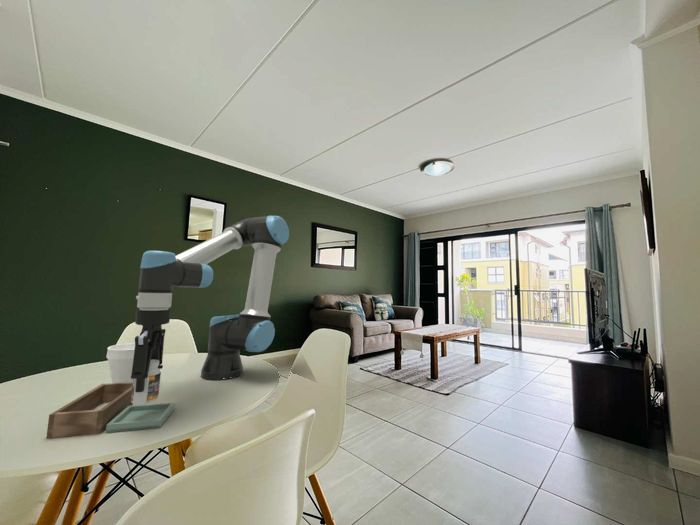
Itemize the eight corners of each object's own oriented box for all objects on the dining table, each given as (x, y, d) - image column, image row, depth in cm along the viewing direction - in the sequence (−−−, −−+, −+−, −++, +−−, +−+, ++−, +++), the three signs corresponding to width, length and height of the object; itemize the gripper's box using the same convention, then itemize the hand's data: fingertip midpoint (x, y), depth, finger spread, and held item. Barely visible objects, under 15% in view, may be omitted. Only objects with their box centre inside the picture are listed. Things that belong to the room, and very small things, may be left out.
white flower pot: (136, 393, 89) (140, 349, 90) (92, 395, 87) (97, 349, 88) (156, 381, 101) (160, 342, 102) (118, 382, 99) (122, 342, 100)
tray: (174, 409, 79) (174, 402, 79) (159, 427, 68) (160, 420, 69) (128, 412, 76) (128, 405, 76) (105, 432, 65) (106, 424, 66)
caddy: (139, 398, 85) (141, 381, 86) (100, 433, 65) (103, 410, 66) (100, 401, 82) (102, 383, 83) (46, 438, 62) (49, 414, 63)
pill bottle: (143, 406, 69) (147, 365, 70) (124, 404, 70) (129, 363, 71) (163, 398, 75) (167, 359, 76) (145, 395, 76) (149, 358, 77)
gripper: (151, 306, 83) (143, 388, 80) (119, 311, 65) (108, 416, 63) (180, 306, 85) (173, 386, 83) (157, 311, 67) (147, 413, 65)
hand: (145, 399), depth 73 cm, fingers closed on pill bottle, 6 cm apart
